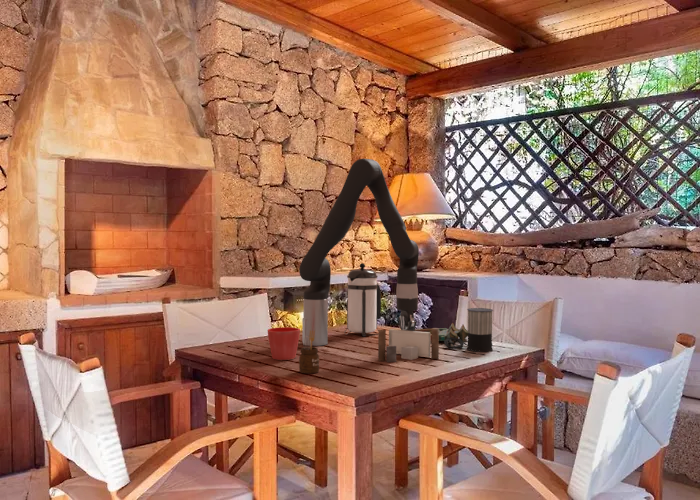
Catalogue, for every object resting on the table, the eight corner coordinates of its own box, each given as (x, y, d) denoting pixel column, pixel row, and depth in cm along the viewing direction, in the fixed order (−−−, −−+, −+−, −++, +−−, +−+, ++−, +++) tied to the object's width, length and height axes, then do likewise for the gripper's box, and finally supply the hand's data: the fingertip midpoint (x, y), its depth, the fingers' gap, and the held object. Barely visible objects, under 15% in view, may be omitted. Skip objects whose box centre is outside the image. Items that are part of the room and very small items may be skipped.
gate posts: (380, 362, 196) (380, 331, 196) (377, 359, 200) (377, 329, 200) (441, 359, 201) (441, 329, 201) (437, 357, 205) (437, 327, 205)
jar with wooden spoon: (296, 373, 179) (296, 333, 179) (303, 369, 186) (303, 329, 185) (315, 374, 178) (315, 333, 178) (321, 370, 184) (321, 330, 184)
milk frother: (497, 351, 217) (498, 310, 217) (458, 353, 212) (458, 311, 212) (477, 345, 230) (478, 306, 230) (440, 347, 226) (440, 307, 225)
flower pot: (263, 356, 206) (263, 327, 206) (294, 354, 210) (294, 326, 210) (272, 362, 196) (272, 332, 196) (304, 359, 200) (304, 330, 200)
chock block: (411, 360, 201) (411, 348, 201) (401, 358, 203) (401, 346, 203) (417, 358, 204) (417, 346, 204) (407, 356, 207) (407, 345, 206)
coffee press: (383, 337, 248) (383, 263, 248) (344, 337, 248) (344, 263, 247) (380, 330, 265) (381, 262, 265) (344, 330, 265) (344, 262, 265)
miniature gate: (399, 324, 261) (469, 321, 255) (399, 337, 261) (470, 335, 255) (390, 334, 234) (469, 331, 228) (391, 348, 234) (470, 345, 228)
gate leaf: (430, 356, 205) (430, 332, 205) (428, 357, 204) (428, 333, 204) (390, 352, 213) (390, 329, 213) (388, 352, 211) (388, 329, 211)
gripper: (391, 295, 219) (391, 342, 219) (403, 298, 206) (403, 349, 206) (410, 294, 221) (411, 341, 221) (423, 297, 208) (424, 348, 208)
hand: (407, 345), depth 214 cm, fingers closed
